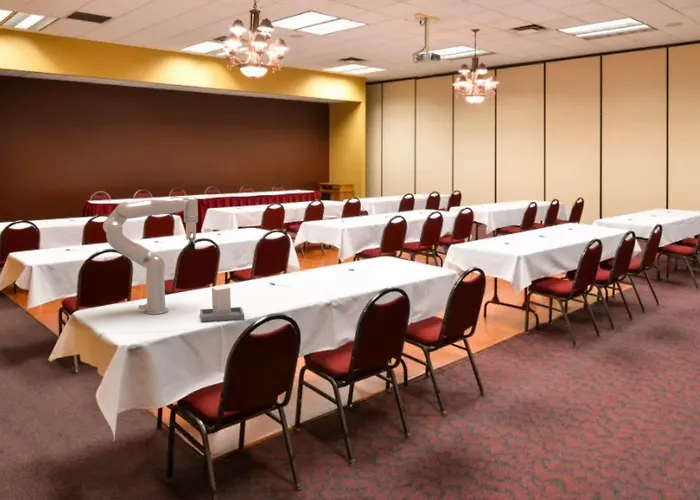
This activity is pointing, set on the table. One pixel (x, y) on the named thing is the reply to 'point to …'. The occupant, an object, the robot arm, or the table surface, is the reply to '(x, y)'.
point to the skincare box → (221, 301)
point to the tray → (208, 315)
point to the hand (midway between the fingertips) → (191, 249)
